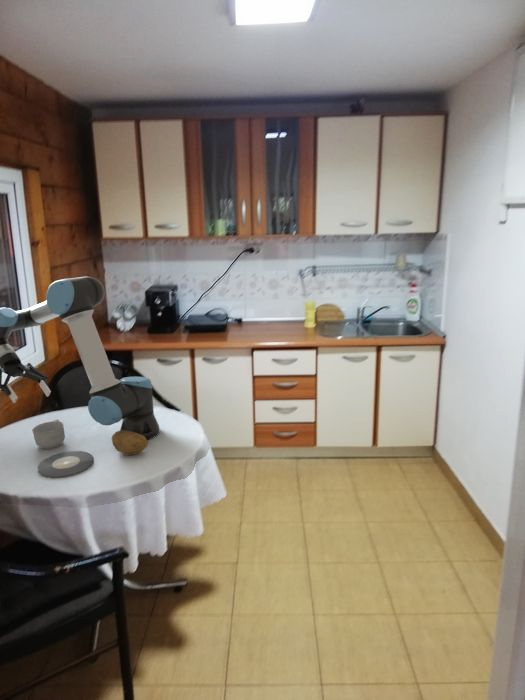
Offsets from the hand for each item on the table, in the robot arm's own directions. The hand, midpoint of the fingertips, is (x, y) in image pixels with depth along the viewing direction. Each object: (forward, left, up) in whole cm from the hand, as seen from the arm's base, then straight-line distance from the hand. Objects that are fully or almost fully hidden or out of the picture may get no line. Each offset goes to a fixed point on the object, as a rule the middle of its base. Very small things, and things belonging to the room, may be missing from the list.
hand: (32, 397), depth 189 cm
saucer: (-22, +20, -17) cm, 34 cm away
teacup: (-8, +4, -17) cm, 20 cm away
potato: (-41, +9, -17) cm, 45 cm away
